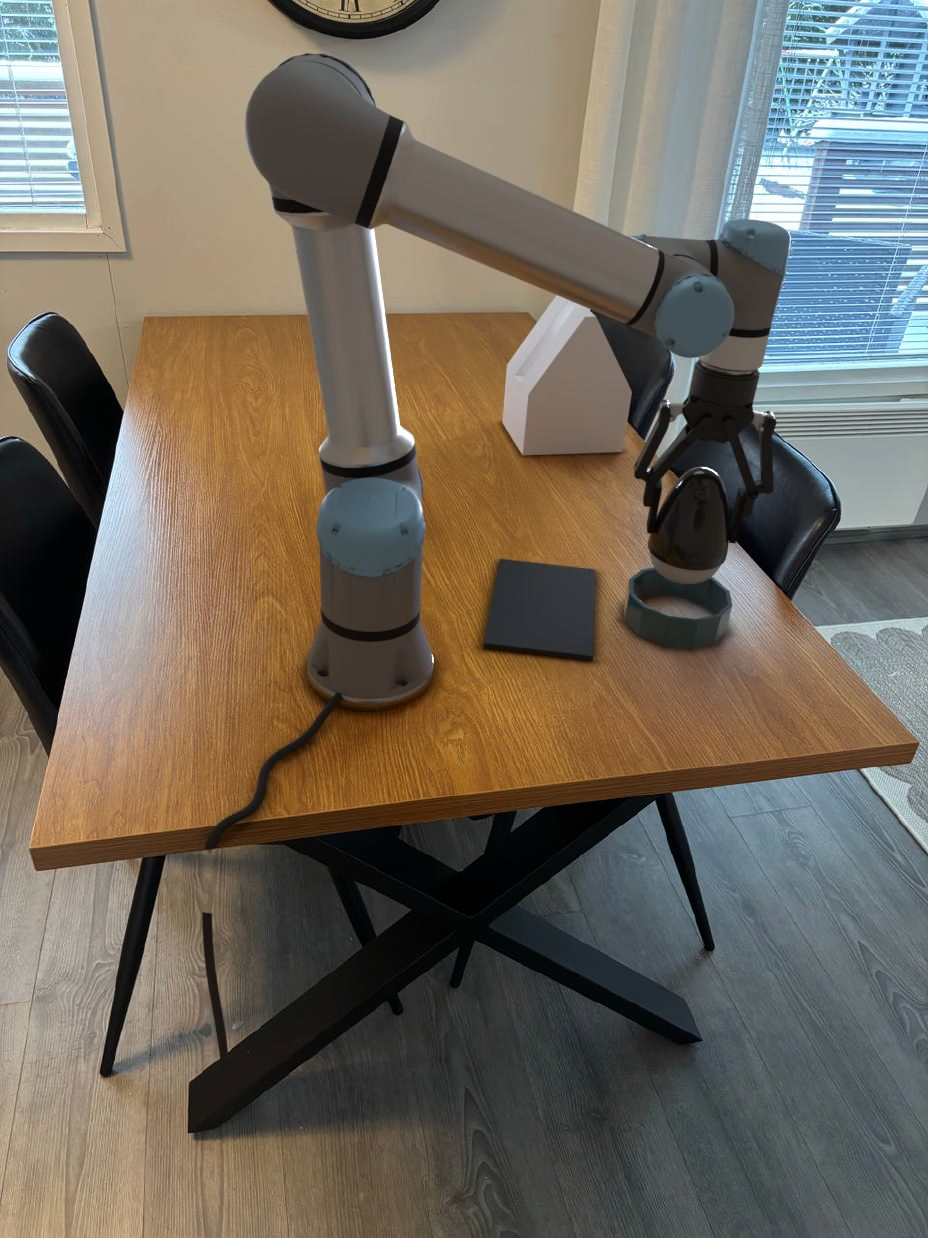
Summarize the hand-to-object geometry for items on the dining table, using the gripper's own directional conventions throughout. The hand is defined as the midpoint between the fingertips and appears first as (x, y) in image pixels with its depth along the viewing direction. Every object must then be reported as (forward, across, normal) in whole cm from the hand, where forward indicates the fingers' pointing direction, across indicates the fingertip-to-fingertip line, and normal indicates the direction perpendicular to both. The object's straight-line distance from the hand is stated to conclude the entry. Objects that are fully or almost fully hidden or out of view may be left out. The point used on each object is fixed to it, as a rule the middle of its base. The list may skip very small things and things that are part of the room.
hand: (690, 533), depth 124 cm
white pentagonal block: (+14, +18, -60) cm, 64 cm away
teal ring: (+13, 0, 0) cm, 13 cm away
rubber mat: (+14, +18, +1) cm, 22 cm away
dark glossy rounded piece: (+6, 0, 0) cm, 6 cm away
